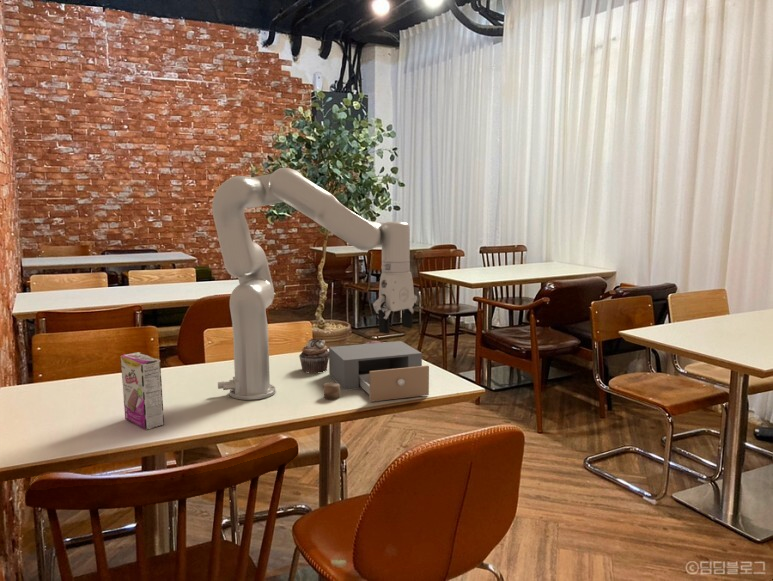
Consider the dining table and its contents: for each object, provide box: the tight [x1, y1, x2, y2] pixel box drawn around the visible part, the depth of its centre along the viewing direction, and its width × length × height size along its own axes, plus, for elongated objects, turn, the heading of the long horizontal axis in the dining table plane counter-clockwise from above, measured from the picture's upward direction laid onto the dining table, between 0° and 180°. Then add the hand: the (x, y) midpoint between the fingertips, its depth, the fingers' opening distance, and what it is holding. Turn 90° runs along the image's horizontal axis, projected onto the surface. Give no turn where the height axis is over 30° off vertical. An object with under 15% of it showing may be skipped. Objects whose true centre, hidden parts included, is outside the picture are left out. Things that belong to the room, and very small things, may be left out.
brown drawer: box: [359, 364, 430, 402], centre depth 171 cm, size 18×17×8 cm
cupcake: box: [298, 337, 329, 374], centre depth 193 cm, size 10×10×10 cm
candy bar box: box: [120, 351, 165, 430], centre depth 146 cm, size 11×5×16 cm, turn 48°
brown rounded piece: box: [323, 382, 341, 401], centre depth 166 cm, size 4×4×4 cm
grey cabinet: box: [328, 340, 423, 391], centre depth 184 cm, size 17×24×9 cm
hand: (396, 330), depth 165 cm, fingers open, 9 cm apart
